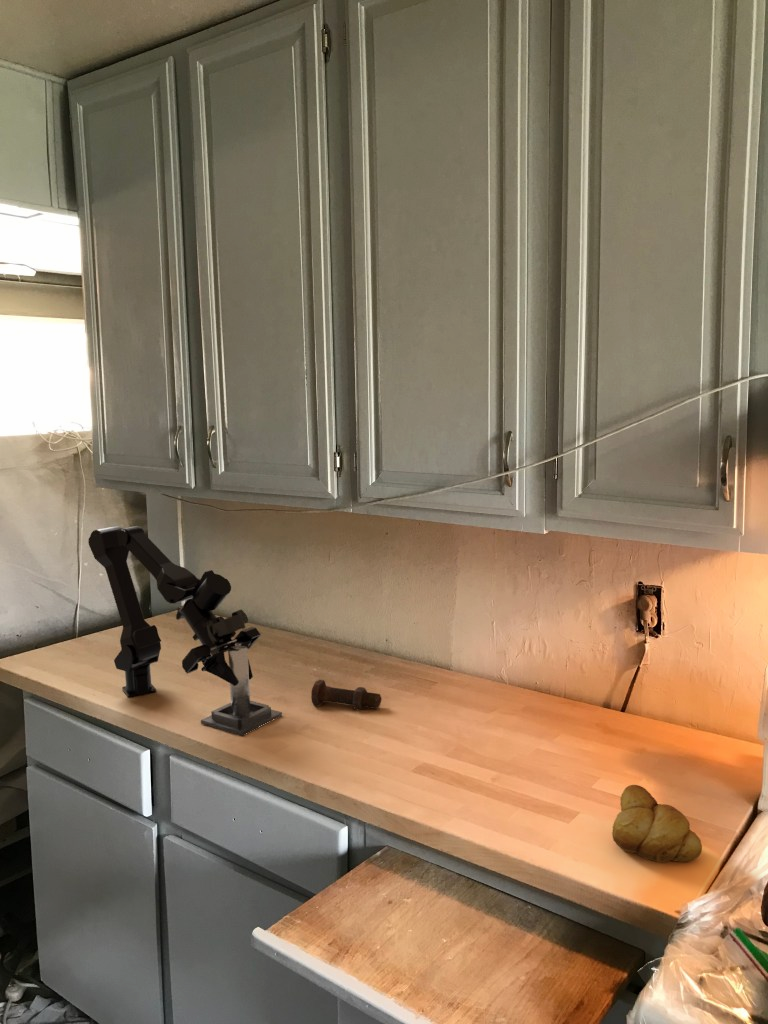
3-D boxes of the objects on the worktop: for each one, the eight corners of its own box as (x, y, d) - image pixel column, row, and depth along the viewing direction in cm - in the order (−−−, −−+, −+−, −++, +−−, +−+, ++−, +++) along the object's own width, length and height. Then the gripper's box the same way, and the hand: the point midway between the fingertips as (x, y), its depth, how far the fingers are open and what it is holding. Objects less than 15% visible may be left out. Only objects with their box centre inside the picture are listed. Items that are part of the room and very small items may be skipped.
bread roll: (710, 852, 123) (712, 802, 122) (684, 882, 116) (685, 829, 115) (628, 823, 132) (629, 776, 131) (599, 850, 125) (600, 800, 123)
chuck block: (200, 723, 175) (200, 713, 175) (241, 704, 185) (240, 694, 185) (242, 735, 169) (241, 725, 168) (282, 715, 178) (281, 705, 178)
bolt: (378, 719, 180) (314, 709, 185) (384, 700, 184) (322, 692, 189) (373, 702, 177) (308, 693, 181) (380, 683, 180) (316, 675, 185)
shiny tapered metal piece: (232, 709, 178) (229, 646, 176) (251, 708, 179) (248, 645, 177) (230, 716, 175) (227, 652, 172) (250, 715, 175) (246, 651, 173)
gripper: (188, 611, 168) (230, 673, 163) (252, 590, 183) (292, 647, 178) (164, 642, 173) (204, 703, 169) (228, 620, 188) (267, 676, 184)
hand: (244, 681), depth 175 cm, fingers closed on shiny tapered metal piece, 4 cm apart
